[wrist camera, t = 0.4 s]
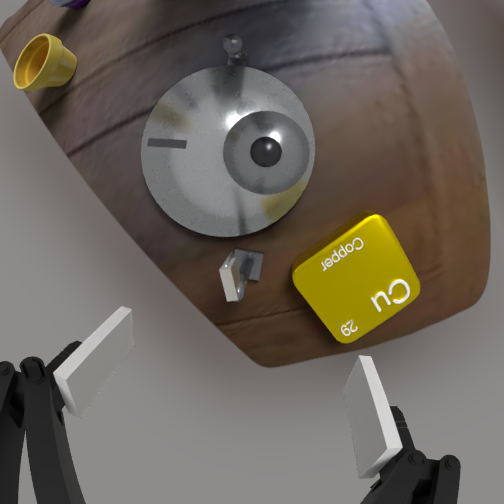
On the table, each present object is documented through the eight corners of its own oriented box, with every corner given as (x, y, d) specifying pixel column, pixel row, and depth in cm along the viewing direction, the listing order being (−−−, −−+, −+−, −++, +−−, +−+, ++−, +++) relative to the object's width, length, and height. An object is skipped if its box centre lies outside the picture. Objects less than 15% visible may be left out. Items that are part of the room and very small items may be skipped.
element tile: (369, 203, 37) (380, 208, 32) (414, 281, 39) (426, 294, 35) (285, 264, 41) (285, 276, 36) (338, 333, 43) (343, 350, 39)
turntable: (162, 52, 32) (144, 38, 26) (326, 64, 31) (333, 46, 25) (138, 221, 40) (117, 230, 34) (297, 248, 39) (299, 262, 33)
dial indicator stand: (237, 238, 40) (219, 266, 29) (265, 243, 40) (258, 273, 28) (232, 273, 41) (214, 311, 30) (259, 278, 41) (250, 318, 30)
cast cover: (235, 112, 33) (229, 105, 29) (312, 123, 33) (316, 117, 29) (224, 185, 36) (216, 188, 32) (300, 198, 36) (302, 202, 32)
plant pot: (57, 106, 36) (20, 101, 27) (41, 78, 35) (8, 71, 25) (92, 62, 34) (57, 48, 24) (73, 38, 32) (41, 24, 23)
